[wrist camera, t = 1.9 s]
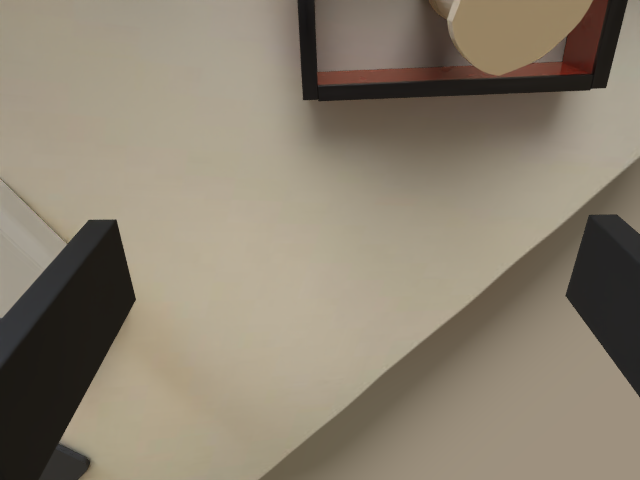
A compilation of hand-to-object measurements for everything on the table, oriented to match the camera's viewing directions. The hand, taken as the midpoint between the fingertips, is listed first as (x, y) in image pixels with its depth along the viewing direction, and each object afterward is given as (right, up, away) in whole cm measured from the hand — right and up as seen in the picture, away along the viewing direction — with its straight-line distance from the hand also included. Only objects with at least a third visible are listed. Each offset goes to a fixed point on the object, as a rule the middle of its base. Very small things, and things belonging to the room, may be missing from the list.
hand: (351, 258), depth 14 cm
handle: (+8, +18, +19) cm, 28 cm away
